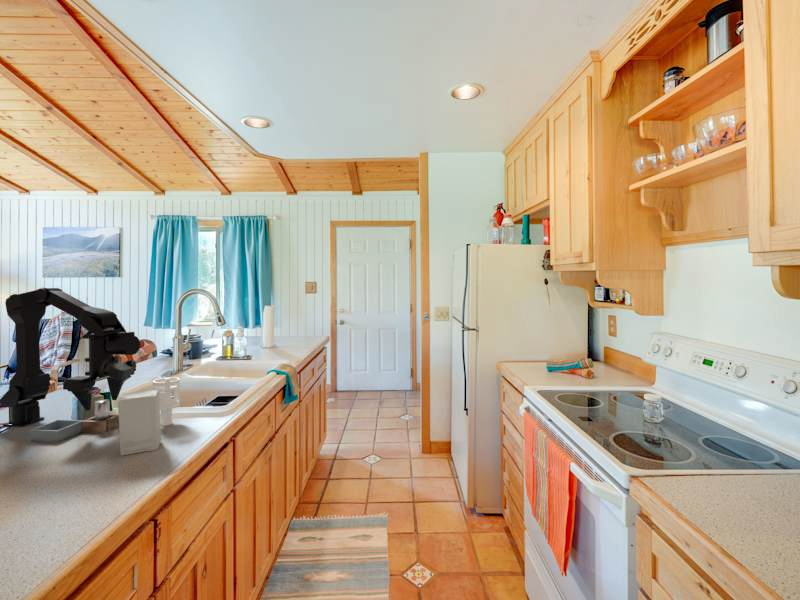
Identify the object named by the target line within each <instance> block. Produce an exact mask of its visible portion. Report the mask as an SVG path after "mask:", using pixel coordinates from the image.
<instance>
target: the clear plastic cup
mask: <svg viewBox="0 0 800 600" xmlns="http://www.w3.org/2000/svg"><path fill="white" fill-rule="evenodd" d="M180 380H181V379H180V377H178V376H164V377H161V378H156V379H154V380H152V390H159V407H160V425H161V426H164V427H165V426H170V425H172V424H173V409H176V408H177V407H180V406H181V403H180V402H181V401H180V399H181V398H180V397H181V396H180V395H181V392H180V391H181V390H180V387H181V385H180V383H181V381H180Z"/></svg>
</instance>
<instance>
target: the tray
mask: <svg viewBox="0 0 800 600" xmlns="http://www.w3.org/2000/svg"><path fill="white" fill-rule="evenodd" d="M82 421H84V420H80V419H79V420H78V419H77V420H75V419H56V420H53V421H51V422H48V423H45V424H43V425H40V426H37V427H34V428H32V429H29V441H30V442H45V441H48V442H49V443H50V442H51V443H58V442H60V441H63V440H65V439H68V438H70V437H72V436H75V435H77V434H79V433H81V432H82ZM67 437H68V438H67Z"/></svg>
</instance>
